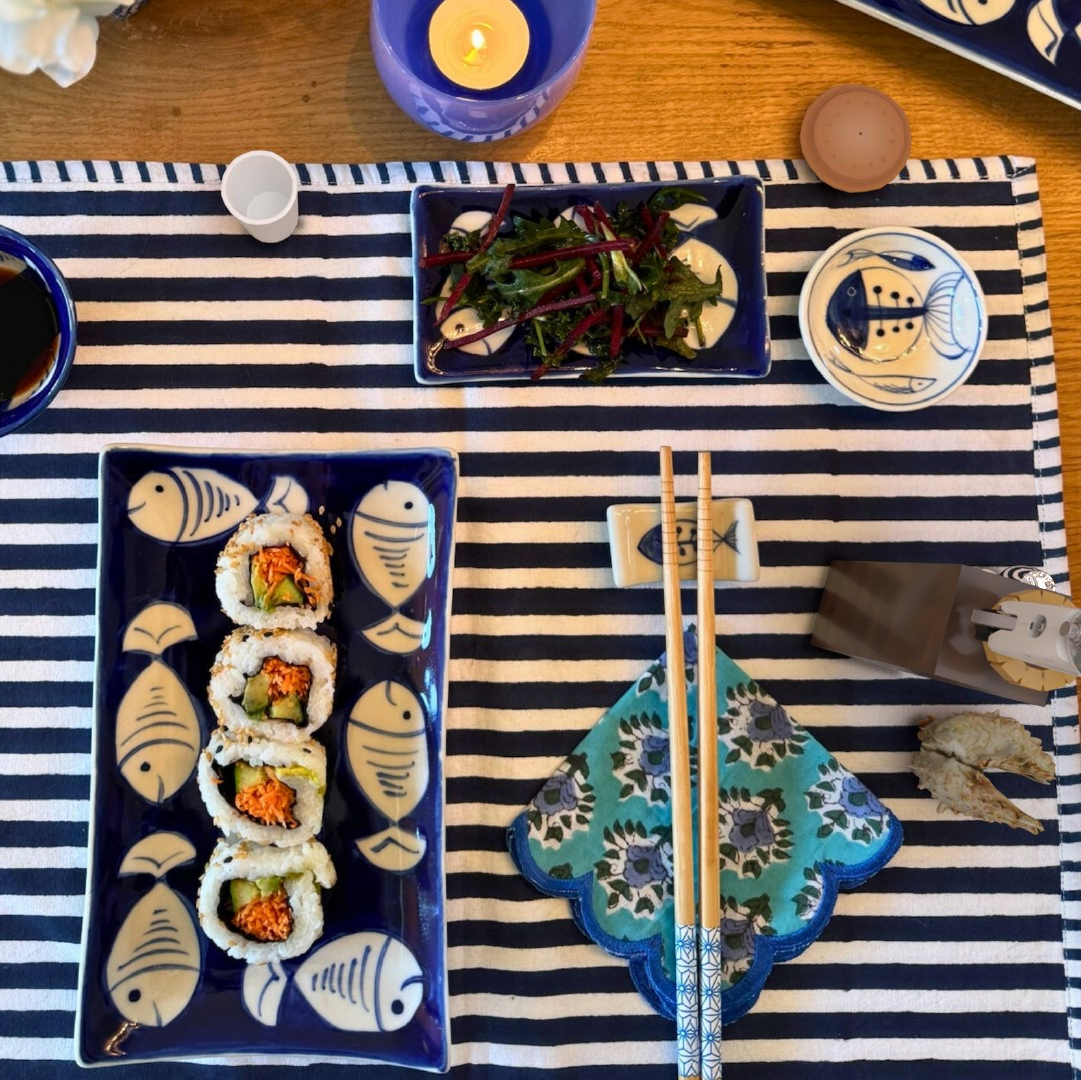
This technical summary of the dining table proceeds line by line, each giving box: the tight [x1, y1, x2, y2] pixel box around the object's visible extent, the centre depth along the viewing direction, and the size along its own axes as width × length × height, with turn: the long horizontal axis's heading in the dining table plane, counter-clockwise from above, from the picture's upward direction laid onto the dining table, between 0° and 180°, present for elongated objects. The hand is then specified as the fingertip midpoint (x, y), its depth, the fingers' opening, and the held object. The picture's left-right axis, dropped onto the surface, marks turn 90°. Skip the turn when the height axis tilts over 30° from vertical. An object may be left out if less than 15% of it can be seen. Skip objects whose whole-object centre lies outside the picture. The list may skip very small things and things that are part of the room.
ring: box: [983, 589, 1078, 692], centre depth 103 cm, size 10×10×2 cm
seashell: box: [906, 708, 1057, 835], centre depth 134 cm, size 18×18×15 cm
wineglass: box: [980, 564, 1057, 592], centre depth 138 cm, size 6×6×12 cm
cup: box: [220, 149, 299, 244], centre depth 141 cm, size 10×10×13 cm
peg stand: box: [809, 559, 1073, 708], centre depth 124 cm, size 12×12×39 cm
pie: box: [798, 83, 913, 194], centre depth 146 cm, size 15×16×5 cm
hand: (996, 628), depth 104 cm, fingers closed on ring, 2 cm apart
